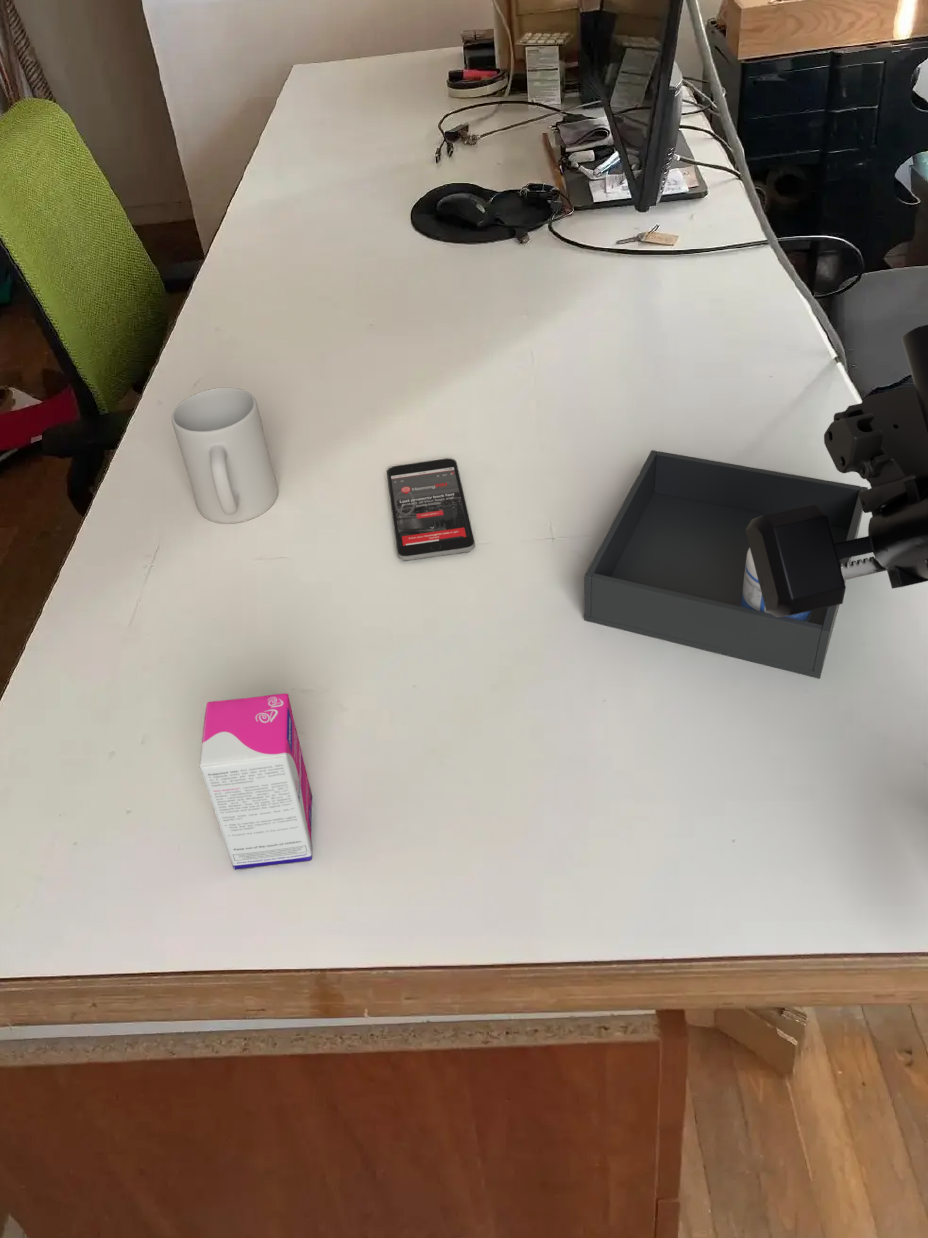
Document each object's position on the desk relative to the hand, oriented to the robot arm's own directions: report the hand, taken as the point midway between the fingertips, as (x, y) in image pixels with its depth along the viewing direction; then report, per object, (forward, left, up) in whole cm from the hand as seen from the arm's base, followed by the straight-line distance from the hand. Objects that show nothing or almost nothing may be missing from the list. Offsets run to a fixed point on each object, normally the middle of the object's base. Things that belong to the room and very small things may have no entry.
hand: (840, 553), depth 70 cm
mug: (+57, -4, -13) cm, 59 cm away
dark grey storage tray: (+9, -10, -13) cm, 19 cm away
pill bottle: (+4, -5, -13) cm, 15 cm away
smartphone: (+38, -10, -13) cm, 42 cm away
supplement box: (+32, +28, -13) cm, 45 cm away
